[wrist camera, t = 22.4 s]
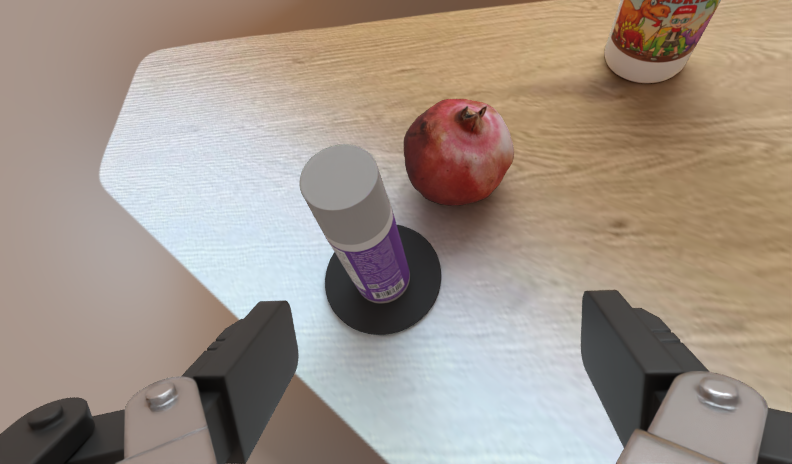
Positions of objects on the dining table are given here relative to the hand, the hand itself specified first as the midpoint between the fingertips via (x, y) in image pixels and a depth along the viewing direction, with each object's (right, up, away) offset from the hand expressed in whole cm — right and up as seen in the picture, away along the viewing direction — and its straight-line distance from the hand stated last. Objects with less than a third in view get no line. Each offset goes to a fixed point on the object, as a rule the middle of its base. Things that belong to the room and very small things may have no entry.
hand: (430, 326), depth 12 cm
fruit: (+5, +7, +29) cm, 31 cm away
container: (-2, -1, +25) cm, 26 cm away
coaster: (-2, -1, +26) cm, 26 cm away
